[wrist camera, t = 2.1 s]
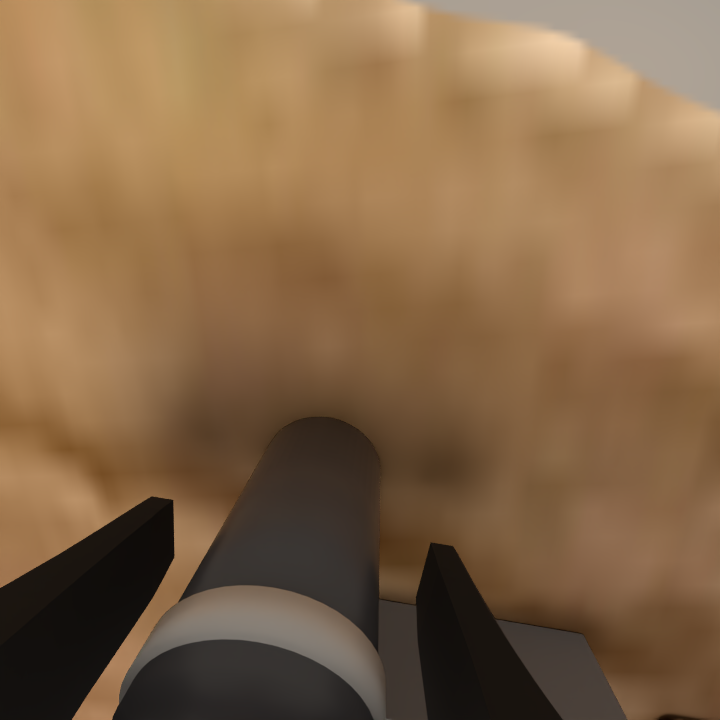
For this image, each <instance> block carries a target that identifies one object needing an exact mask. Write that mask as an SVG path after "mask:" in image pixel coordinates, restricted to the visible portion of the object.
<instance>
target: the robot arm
mask: <svg viewBox="0 0 720 720" xmlns="http://www.w3.org/2000/svg"><path fill="white" fill-rule="evenodd" d="M173 559H174V514H173V500H170V499H164V498H158V497H150V498H148V499H147V500H145V501H143V502H142V503H140V504H138V505H137V506H135V507H134V508H132V509H131V510H129V511H127V512H126V513H124V514H123V515H121V516H120V517H118V518H116V519H115V520H113V521H112V522H110V523H109V524H107V525H105V526H104V527H102V528H101V529H99V530H98V531H96V532H94V533H93V534H91V535H89V536H88V537H86V538H85V539H83V540H81V541H80V542H78V543H77V544H75V545H73V546H72V547H70V548H69V549H67V550H65V551H64V552H62V553H60V554H59V555H57V556H55V557H53V558H52V559H50V560H48V561H47V562H45V563H43V564H41V565H40V566H38V567H36V568H34V569H33V570H31V571H29V572H28V573H26V574H24V575H22V576H21V577H19V578H17V579H15V580H14V581H12V582H10V583H9V584H7V585H5V586H3V587H1V588H0V720H72V718H73V717H74V715H75V714H76V712H77V710H78V709H79V707H80V706H81V704H82V703H83V701H84V699H85V698H86V696H87V695H88V693H89V692H90V690H91V689H92V687H93V686H94V684H95V683H96V682H97V680H98V679H99V677H100V676H101V674H102V673H103V671H104V670H105V668H106V667H107V665H108V664H109V662H110V661H111V659H112V658H113V656H114V655H115V653H116V652H117V650H118V649H119V647H120V646H121V644H122V643H123V641H124V640H125V639H126V637H127V636H128V634H129V633H130V631H131V630H132V628H133V627H134V625H135V624H136V622H137V621H138V619H139V618H140V616H141V615H142V613H143V612H144V610H145V609H146V607H147V606H148V604H149V602H150V601H151V599H152V598H153V596H154V594H155V593H156V591H157V589H158V587H159V585H160V583H161V582H162V580H163V578H164V576H165V574H166V572H167V570H168V568H169V566H170V564H171V563H172V561H173ZM416 612H417V639H418V649H419V657H420V664H421V672H422V680H423V687H424V695H425V702H426V710H427V718H428V720H563V719H562V717H561V716H560V715H559V713H558V712H557V711H556V709H555V708H554V707H553V705H552V704H551V703H550V701H549V700H548V698H547V697H546V696H545V694H544V693H543V691H542V690H541V688H540V687H539V686H538V684H537V683H536V681H535V680H534V678H533V677H532V675H531V674H530V672H529V671H528V669H527V668H526V666H525V665H524V664H523V662H522V661H521V659H520V658H519V656H518V655H517V653H516V651H515V650H514V648H513V647H512V645H511V644H510V642H509V641H508V639H507V638H506V636H505V634H504V633H503V631H502V629H501V628H500V626H499V625H498V623H497V621H496V620H495V618H494V616H493V615H492V613H491V612H490V610H489V608H488V607H487V605H486V603H485V601H484V600H483V598H482V596H481V595H480V593H479V591H478V589H477V588H476V586H475V584H474V582H473V581H472V579H471V577H470V575H469V573H468V572H467V570H466V568H465V566H464V564H463V563H462V561H461V559H460V557H459V555H458V553H457V552H456V550H455V548H454V547H453V546H449V545H443V544H437V543H431V544H430V548H429V551H428V555H427V559H426V562H425V566H424V570H423V573H422V577H421V581H420V585H419V588H418V592H417V596H416Z"/></svg>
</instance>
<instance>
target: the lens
mask: <svg viewBox="0 0 720 720" xmlns="http://www.w3.org/2000/svg"><path fill="white" fill-rule="evenodd" d="M379 550H380V462H379V458H378V455H377V452H376V450H375V448H374V446H373V445H372V444H371V442H370V441H369V440H368V438H367V437H366V436H365V435H364V434H363V433H361V432H360V431H359V430H358V429H356V428H355V427H353V426H351V425H349V424H347V423H345V422H343V421H340V420H337V419H333V418H327V417H310V418H305V419H301V420H298V421H295V422H293V423H291V424H289V425H287V426H286V427H284V428H283V429H282V430H280V431H279V432H278V433H277V434H276V436H275V437H274V438H273V440H272V441H271V443H270V444H269V446H268V448H267V450H266V451H265V453H264V455H263V457H262V458H261V460H260V462H259V463H258V465H257V467H256V469H255V470H254V472H253V474H252V476H251V477H250V479H249V481H248V482H247V484H246V486H245V488H244V489H243V491H242V493H241V495H240V496H239V498H238V500H237V502H236V503H235V505H234V507H233V508H232V510H231V512H230V514H229V515H228V517H227V519H226V521H225V522H224V524H223V526H222V527H221V529H220V531H219V533H218V534H217V536H216V538H215V540H214V541H213V543H212V545H211V546H210V548H209V550H208V552H207V553H206V555H205V557H204V559H203V560H202V562H201V564H200V565H199V567H198V569H197V571H196V572H195V574H194V576H193V578H192V579H191V581H190V583H189V584H188V586H187V588H186V590H185V591H184V593H183V595H182V597H181V598H180V600H179V602H178V603H177V604H176V605H174V606H173V607H171V608H170V609H169V610H168V611H167V612H166V613H165V614H164V615H163V616H162V617H161V619H160V620H159V621H158V623H157V624H156V626H155V627H154V629H153V631H152V632H151V634H150V635H149V637H148V639H147V640H146V642H145V644H144V645H143V647H142V649H141V650H140V652H139V654H138V655H137V657H136V659H135V660H134V662H133V664H132V665H131V667H130V669H129V670H128V672H127V674H126V676H125V678H124V680H123V682H122V685H121V689H120V694H119V705H118V707H117V709H116V711H115V714H114V716H113V719H112V720H386V681H385V672H384V668H383V664H382V662H381V659H380V657H379V655H378V637H379Z"/></svg>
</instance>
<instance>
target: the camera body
mask: <svg viewBox="0 0 720 720" xmlns="http://www.w3.org/2000/svg"><path fill="white" fill-rule="evenodd" d="M495 620H496V621H497V623H498V625H499V626H500V628H501V629H502V631H503V633H504V634H505V636H506V638H507V639H508V641H509V642H510V644H511V645H512V647H513V648H514V650H515V651H516V653H517V655H518V656H519V658H520V659H521V661H522V662H523V664H524V665H525V666H526V668H527V669H528V671H529V672H530V674H531V675H532V677H533V678H534V680H535V681H536V683H537V684H538V686H539V687H540V688H541V690H542V691H543V693H544V694H545V696H546V697H547V698H548V700H549V701H550V703H551V704H552V705H553V707H554V708H555V709H556V711H557V712H558V713H559V715H560V716H561V717H562V719H563V720H627V718H626V716H625V714H624V712H623V710H622V708H621V706H620V704H619V702H618V701H617V699H616V697H615V695H614V693H613V691H612V689H611V687H610V685H609V683H608V681H607V679H606V677H605V676H604V674H603V672H602V670H601V668H600V666H599V664H598V662H597V660H596V658H595V656H594V654H593V652H592V650H591V649H590V647H589V645H588V643H587V641H586V639H585V637H584V635H583V634H579V633H573V632H567V631H561V630H555V629H549V628H544V627H538V626H532V625H526V624H520V623H514V622H508V621H503V620H497V619H495ZM378 655H379V657H380V659H381V662H382V664H383V668H384V672H385V681H386V720H428V718H427V710H426V702H425V695H424V687H423V680H422V672H421V664H420V657H419V649H418V639H417V612H416V606H415V605H409V604H403V603H397V602H391V601H385V600H379V637H378Z"/></svg>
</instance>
